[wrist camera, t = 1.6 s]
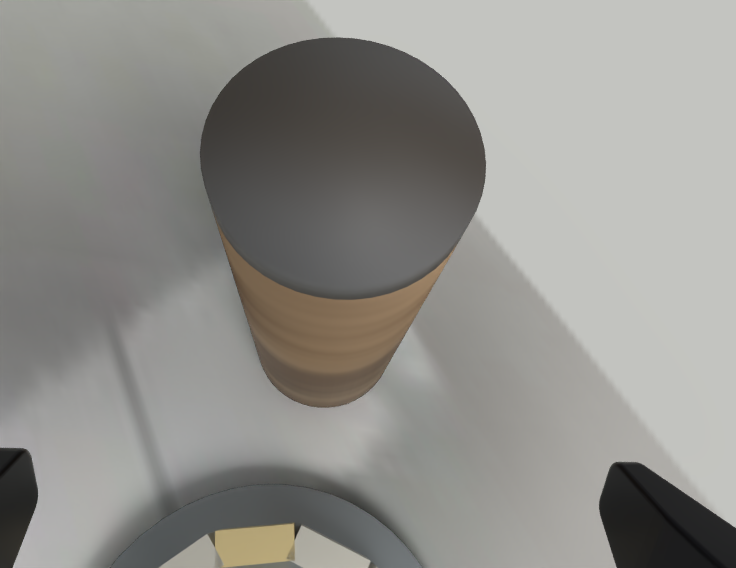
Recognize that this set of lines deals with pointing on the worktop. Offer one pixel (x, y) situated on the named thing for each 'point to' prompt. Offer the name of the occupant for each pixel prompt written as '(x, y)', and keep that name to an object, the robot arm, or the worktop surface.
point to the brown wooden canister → (338, 204)
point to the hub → (268, 533)
